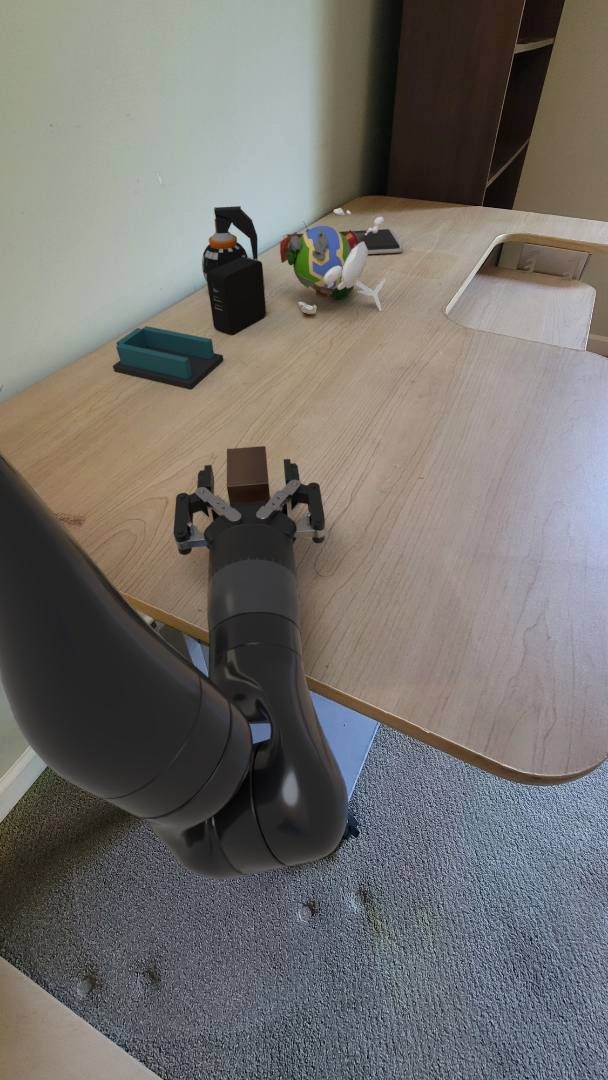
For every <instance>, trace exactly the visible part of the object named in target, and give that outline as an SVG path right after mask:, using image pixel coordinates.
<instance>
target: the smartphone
mask: <svg viewBox="0 0 608 1080" xmlns="http://www.w3.org/2000/svg"><path fill="white" fill-rule="evenodd" d="M349 231H350V230H346V231H345V230H344V231H339V232H340V233H341V234H342V235H345V234H346V233H349ZM351 231H352V232H355V233H365V232H367V231H368V229H366V230H365V229H363V230H351ZM291 234H292V233H290V234H288V233H287V234H284V235H283V237H282V238H283V239H285V238H286V237H288V236H290V235H291ZM303 234H304V233H297V235H296V236H298V237H299V238H301V236H302V235H303ZM283 239H282V240H283ZM363 241H364V243H365V245H366V247H367V249H368V255H378V254H396V253H397V254H398V253H401V252H403V250H404V246H403V243H401V241H400V240H399V238H398V237H397V235H396V233H395V232H394V231H393V230H392V228H391V229H390V228H385V229H384V228H383V229H378V232H377V233H373V232H368V233H367V235H366V236H365V237H364V238H363V239H362V241H361V242H363ZM361 242H360V243H361Z"/></svg>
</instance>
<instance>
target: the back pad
mask: <svg viewBox="0 0 608 1080" xmlns="http://www.w3.org/2000/svg"><path fill="white" fill-rule="evenodd" d="M115 344H116V346H115V348H116V351H117V355H118V358H119V361H117V362H116V363H115V364H113V365H112V369H113V372H115V373H120V374H123V375H129V376H133V377H137V378H141V379H145V380H149V381H153V382H158V383H163V384H167V385H171V386H176V387H179V388H183V389H189V390H192V389H194V388H195V387H196V386H197V385H198V384H199V383H200V382H201V381H202V380H204V379H205V378H206V377H207V376H208V375H209V374H210V373H211V372H212V371H214V370H215V369H216V368H217V367H218V366H219V365H220V364H221V363H222V362H224V355H223V354H219V353H215V351H214V345H213V339H212V338H207V337H202V336H198V335H193V334H187V333H183V332H177V331H173V330H167V329H162V328H157V327H154V326H153V327H152V326H148V325H146V326H144V327H143V328H139V327H137V328H134V330H132V331H131V332H129V333H127V334H126V335H125V336H123V337H122V338H121V339H119V340H118V341H116V342H115Z"/></svg>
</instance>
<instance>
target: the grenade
mask: <svg viewBox="0 0 608 1080" xmlns="http://www.w3.org/2000/svg"><path fill="white" fill-rule="evenodd" d="M213 211H214V212H213V213H214V217H215V218H214V227H215V232H214V233H213V235H211V236H210V237H209V238H208V243H209V244H208V245H207V246H206V247H205V249H204V251H203V253H202V260H201V271H202V274H203V277H204V279H205V281H206V282H207V273H208V272H209V271H211V270H213V269H215V268H217V267H220V266H222V265H224V264H227V263H229V262H231V261H233V260H236V259H238V258H240V257H246V258H248V257H249V256H248V253H247V251H246V249H245V247H244V246H243V245H242V244H240V243H239V242H238V237H237V236H236V235H235V234H233V233H231V232H230V231H229V229H230V227H231V226H232V225H233V226H234V227H235V228H236V229H238V230H239V231H240V233H242V234H243V235H245V236H246V238H248V239H249V243H250V248H251V254H252V259H254V260H255V259H257V260H258V257H259V255H258V253H259V251H258V249H259V248H258V234H257V233H258V232H257V231H256V227H255V225H254V221H253V219H252V218H251V217H250V216H249V215H248V214H247V213H246V212H245V211H244V209H243V210H242V208H241V206H240V205H237V206H219V207H217V206H216V207H214V208H213ZM258 261H259V260H258Z"/></svg>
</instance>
